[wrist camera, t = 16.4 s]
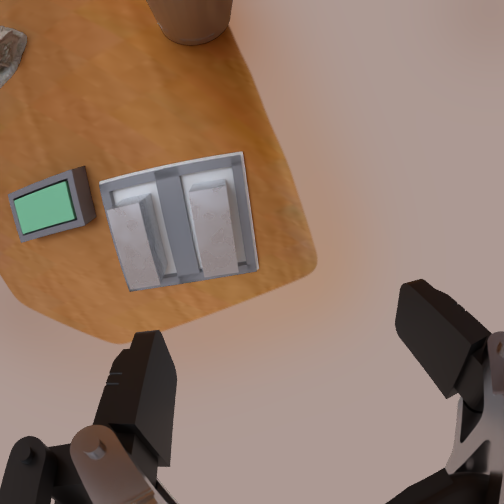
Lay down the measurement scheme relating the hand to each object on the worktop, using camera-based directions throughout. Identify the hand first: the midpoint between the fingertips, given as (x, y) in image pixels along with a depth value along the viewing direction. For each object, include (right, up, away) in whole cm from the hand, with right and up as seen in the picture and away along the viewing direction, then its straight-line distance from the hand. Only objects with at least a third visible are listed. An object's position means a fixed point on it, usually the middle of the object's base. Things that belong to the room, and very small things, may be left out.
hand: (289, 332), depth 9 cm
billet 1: (-15, +5, +27) cm, 32 cm away
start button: (-29, +9, +23) cm, 38 cm away
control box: (-29, +10, +25) cm, 40 cm away
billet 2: (-6, +7, +28) cm, 29 cm away
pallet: (-11, +6, +29) cm, 31 cm away
